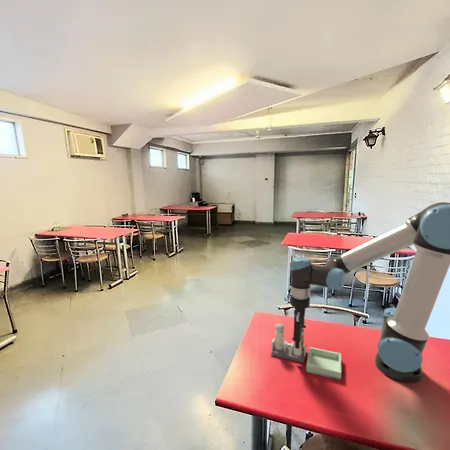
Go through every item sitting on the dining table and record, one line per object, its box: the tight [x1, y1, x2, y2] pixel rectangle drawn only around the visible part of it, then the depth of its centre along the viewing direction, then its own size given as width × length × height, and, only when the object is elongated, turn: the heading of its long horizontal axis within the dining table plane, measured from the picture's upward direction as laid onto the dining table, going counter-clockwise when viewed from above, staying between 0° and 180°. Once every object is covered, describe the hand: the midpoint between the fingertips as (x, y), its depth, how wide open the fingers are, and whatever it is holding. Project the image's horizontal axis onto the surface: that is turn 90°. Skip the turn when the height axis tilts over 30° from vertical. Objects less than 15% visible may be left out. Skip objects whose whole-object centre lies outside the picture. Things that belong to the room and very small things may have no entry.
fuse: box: [274, 323, 285, 351], centre depth 112 cm, size 4×4×10 cm
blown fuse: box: [301, 328, 305, 355], centre depth 109 cm, size 4×4×10 cm
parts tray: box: [305, 346, 342, 381], centre depth 103 cm, size 12×12×3 cm
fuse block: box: [270, 337, 308, 364], centre depth 111 cm, size 14×8×4 cm, turn 67°
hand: (298, 348), depth 109 cm, fingers open, 8 cm apart
